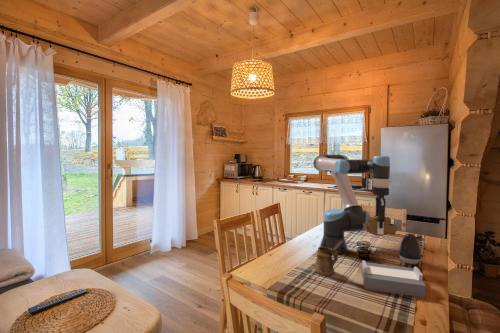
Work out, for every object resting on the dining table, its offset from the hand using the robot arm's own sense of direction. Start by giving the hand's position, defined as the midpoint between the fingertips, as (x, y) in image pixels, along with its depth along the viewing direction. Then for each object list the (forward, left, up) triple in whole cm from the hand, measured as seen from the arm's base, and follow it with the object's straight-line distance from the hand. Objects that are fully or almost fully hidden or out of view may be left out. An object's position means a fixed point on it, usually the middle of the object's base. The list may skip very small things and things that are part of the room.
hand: (379, 232), depth 132 cm
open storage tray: (+2, -19, -17) cm, 26 cm away
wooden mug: (-24, -17, -17) cm, 34 cm away
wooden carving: (0, 0, -1) cm, 1 cm away
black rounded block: (+16, +9, -17) cm, 25 cm away
